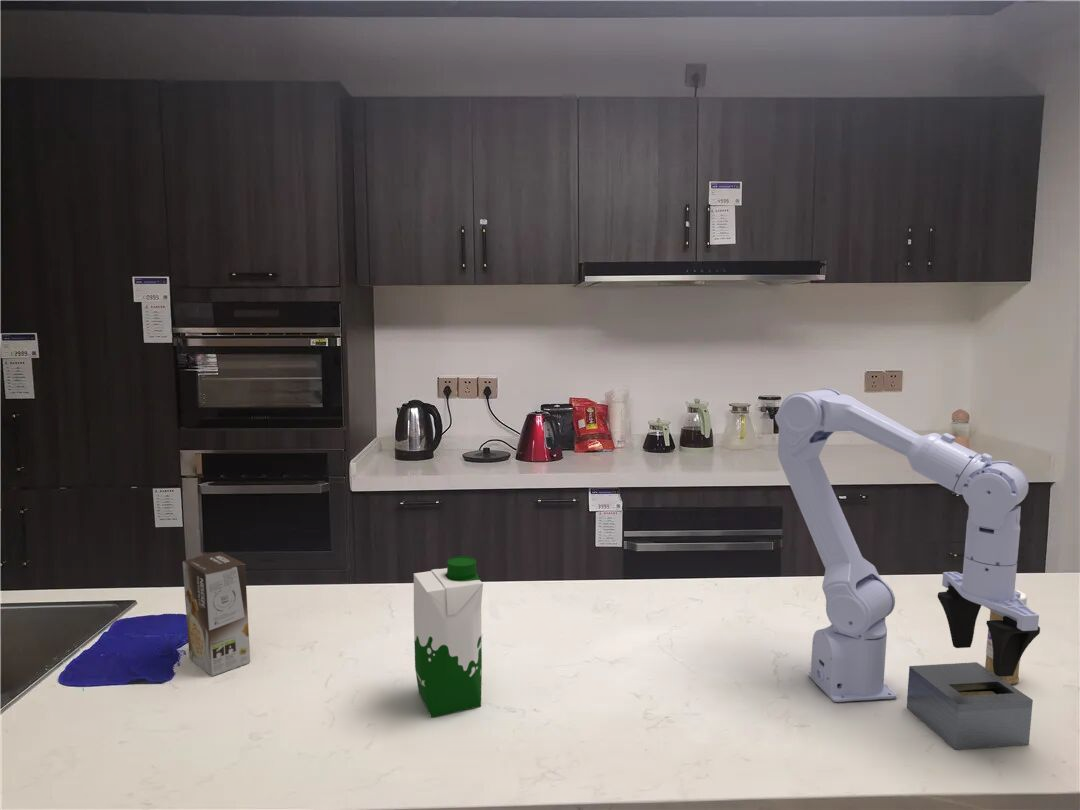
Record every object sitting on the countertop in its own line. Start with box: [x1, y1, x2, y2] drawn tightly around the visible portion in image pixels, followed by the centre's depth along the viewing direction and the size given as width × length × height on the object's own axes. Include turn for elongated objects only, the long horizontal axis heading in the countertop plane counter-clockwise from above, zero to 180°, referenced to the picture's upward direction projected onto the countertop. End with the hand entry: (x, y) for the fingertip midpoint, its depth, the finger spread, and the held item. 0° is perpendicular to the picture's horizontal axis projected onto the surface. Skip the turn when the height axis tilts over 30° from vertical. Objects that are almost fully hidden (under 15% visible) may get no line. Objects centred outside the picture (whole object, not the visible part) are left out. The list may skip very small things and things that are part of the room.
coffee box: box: [182, 551, 251, 677], centre depth 114 cm, size 9×6×16 cm
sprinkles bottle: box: [984, 589, 1028, 685], centre depth 108 cm, size 5×5×13 cm
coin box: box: [906, 661, 1034, 751], centre depth 96 cm, size 10×10×6 cm
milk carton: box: [413, 556, 484, 718], centre depth 102 cm, size 9×9×20 cm
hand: (981, 660), depth 94 cm, fingers open, 7 cm apart
